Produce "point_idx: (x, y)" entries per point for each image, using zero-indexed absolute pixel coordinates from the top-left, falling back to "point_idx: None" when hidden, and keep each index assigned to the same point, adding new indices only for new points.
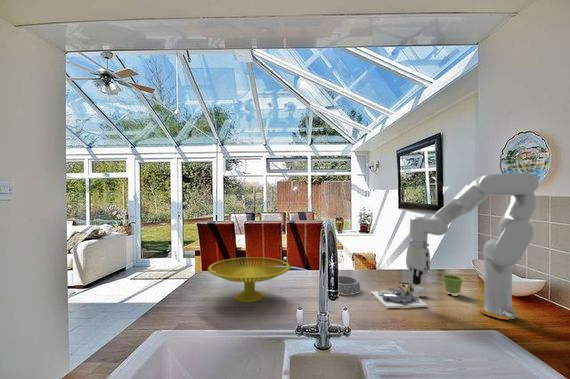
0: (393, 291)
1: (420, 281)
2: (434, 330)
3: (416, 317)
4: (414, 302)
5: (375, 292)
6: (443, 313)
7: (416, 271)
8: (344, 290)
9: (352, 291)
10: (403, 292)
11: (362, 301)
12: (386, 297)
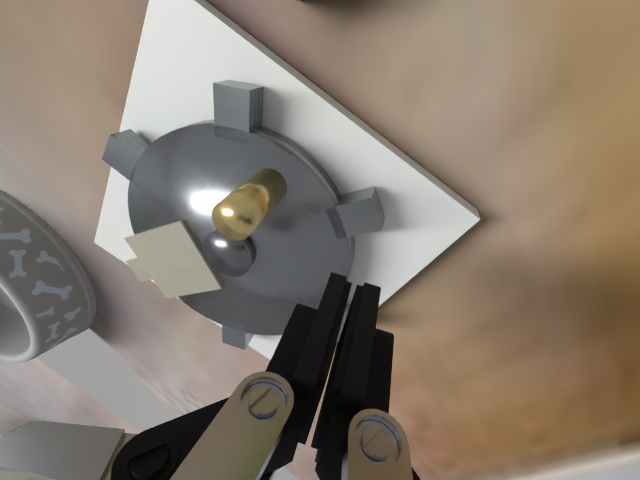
0: (178, 215)
1: (392, 345)
2: (591, 461)
3: (464, 382)
4: (373, 237)
5: (116, 238)
6: (628, 237)
7: (255, 455)
8: (68, 337)
9: (78, 311)
10: (230, 180)
11: (181, 344)
12: (242, 343)
